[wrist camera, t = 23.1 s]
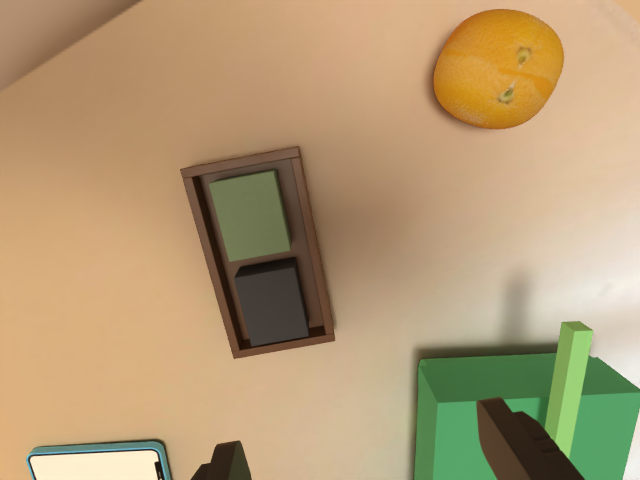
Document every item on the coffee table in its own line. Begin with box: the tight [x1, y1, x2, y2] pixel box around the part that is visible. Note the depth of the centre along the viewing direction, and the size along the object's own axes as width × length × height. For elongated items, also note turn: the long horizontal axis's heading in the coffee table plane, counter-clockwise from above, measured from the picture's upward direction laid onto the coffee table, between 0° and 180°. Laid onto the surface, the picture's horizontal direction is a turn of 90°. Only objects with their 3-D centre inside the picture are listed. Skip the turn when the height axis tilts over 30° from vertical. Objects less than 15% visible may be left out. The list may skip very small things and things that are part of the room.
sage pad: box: [209, 168, 292, 262], centre depth 32 cm, size 7×6×3 cm
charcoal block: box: [234, 257, 309, 346], centre depth 35 cm, size 7×6×3 cm
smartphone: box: [26, 441, 171, 480], centre depth 42 cm, size 8×1×15 cm
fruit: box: [434, 9, 564, 129], centre depth 28 cm, size 9×8×8 cm
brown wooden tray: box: [180, 146, 335, 359], centre depth 34 cm, size 19×10×3 cm, turn 10°
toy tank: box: [414, 321, 640, 480], centre depth 36 cm, size 18×12×35 cm
